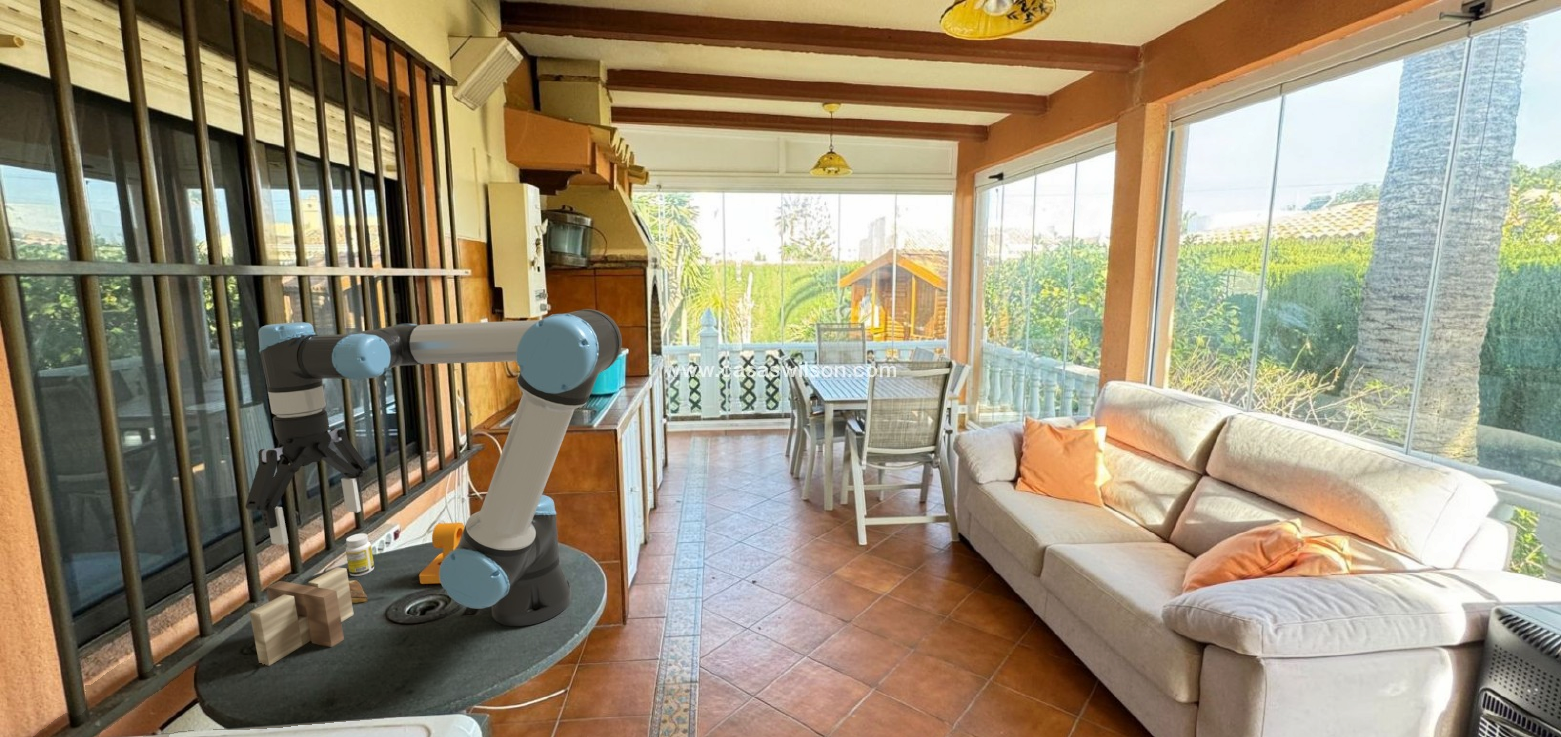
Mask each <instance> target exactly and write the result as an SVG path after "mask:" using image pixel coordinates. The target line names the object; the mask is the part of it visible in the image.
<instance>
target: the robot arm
mask: <svg viewBox="0 0 1561 737" xmlns="http://www.w3.org/2000/svg"><path fill="white" fill-rule="evenodd" d="M257 333H258V345H259V346H258V347H259V350H258V353H259V354H260V358H261V362H262V363H261V364H262V366H263V367H262V368H263V372H264V377H265V384H266V389H267V394H268V399H269V400H268V401H269V405H270V411H271V414H273V415H275V416H273V418H272V424H273V429H274V435H275V437H276V439H277V441H278V445H277V447H276V448H271V449H270V448H269V449H267V448H261V449H260V450H259V451H258V453H257V454H258V465H257V468H256V471H255V475H254V476H253V481H252V484H251V488H250V490H249V492H248V493H249V494H248V496H247V500H246V503H245V509H246V510H248V511H249V510H250V511H258V512H260V513H261V518H262V524H263V527H264V528H266V529H268V530H269V535H270V541H271V544H272V545H278V546H279V545H280V546H285V545H287V544H289V539H288V538H289V537H288V533H287V527H286V523H285V522H286V521H285V516H284V511H283V507H282V506H278V505H279V502H280V501H281V499H282V498H283V495H284V494H285V492H286V490H287V488H288V486H289V484H290V482H291V481H292V479H293V477H294V476H295V473H297V472H299V470H300V469H301V467H307V466H309V465H311V464H312V463H318V462H321V461H324V462H325V463H326V464H328V465H329V466H331V467H332V468H333V469H335V470H337V471H338V472H339V473H341V474H342V475H344V476H345V477H342V478H340V480H341V487H342V492H343V493H342V494H343V498H344V499H343V500H344V504H345V505H344V506H345V511H346V512H348V513H349V512H351V513H359V512H362V509H361V503H360V496H359V493H361V491H362V489H361V488H362V487H361V482H360V478H363V477H364V471H365V472H366V471H367V470H369V465H368V464H367V462H366V461H365V460H364V458H363V456H362V455H361V454H360V453H359V452H358V451H357V450H358V449H356V448H355V446H354V445H353V444H352V443H351V441H350V440H349V437H348V434H347V430H346V429H344V428H334V427H333V428H330V422H329V418H328V411H327V410H325V409H324V408H325V407H326V405H327V403H326V398H325V391H324V387H323V386H324V385H323V381H322V379H325V380H326V379H333V380H334V379H335V380H338V379H340V380H341V379H342V380H347V379H348V380H357V381H358V380H361V381H362V380H363V379H375V378H378V377H380V376H382V375H383V374H384V373H385V371H386V370H389V369H392V368H395V367H399V366H416V365H431V364H435V365H436V364H437V365H438V364H467V363H468V364H469V363H502V362H506V363H508V362H516V364H517V366H518V368H519V369H520V371H519V374H518V377H517V379H516V380H517V381H516V384H517V386H518V388H519V389H520V391H521V392H522V395H521V397H520V401H519V403H518V406H517V409H516V412H515V415H514V418H513V420H512V423H511V425H510V429H509V431H508V434H507V437H506V440H505V443H504V445H503V447H502V450H501V454H500V456H499V459H498V462H497V465H496V467H495V471H494V472H493V475H492V478H491V481H490V484H489V486H488V490H487V492H486V495H485V498H484V501H483V502H482V503H483V504H482V506H481V508H480V510H479V511H476V512H475V513H473V514H470V516H469V517H468V519H467V520H466V523H465V524H464V527H465V528H464V530H463V533H462V536H461V539H460V542H459V544H458V546H457V547H456V549H455V550H453V551H451V552H449V553H448V554H447V556H446V557H445V559H444V560H443V561H442V563H441V565H440V569H439V578H440V582H441V583H440V584H441V587H442V589H444V590H445V592H446V594H447V595H448V597H450V598H451V599H452V600H453V601H454V602H456V603H458V604H459V605H461V606H463V607H466V608H470V609H478V610H479V609H486V608H490V607H491V608H490V609H491V616H492V618H493V620H494V621H496V622H497V623H499V624H500V625H504V626H510V627H523V626H524V627H525V626H531V625H535V624H539V623H542V622H545V621H547V620H549V619H552V618H554V617H556V616H558V615H559V614H561V613H562V612H563V611H565V609H567V608H568V606H569V605H570V603H571V602H572V588H571V584H570V582H569V581H568V580H567V578H566V576H565V573H564V571H563V568H562V566H561V564H560V553H559V552H560V550H559V540H558V528H557V527H558V526H557V511H556V507H555V501H554V500H553V498H551V497H550V496H547V495H546V494H543V493H544V490H545V488H546V486H547V482H548V480H549V477H550V474H551V473H552V470H553V467H554V464H555V462H556V459H557V456H558V453H559V452H560V449H561V445H562V444H563V440H564V438H565V435H566V433H567V430H568V427H569V425H570V422H571V419H572V418H573V414H574V412H575V410H576V409H578V408H581V407H583V406H585V405H587V403H588V400H589V398H590V396H591V393H592V391H593V388H594V385H595V383H596V380H597V378H598V375H599V374H601V373H602V372H605V371H606V370H607V369H609V368H610V367H611V366H612V365H614V364H615V363H616V361H617V360H618V358H619V356H620V354H621V351H622V347H623V345H622V344H623V343H622V342H623V339H622V334H621V332H620V328H619V326H618V325H617V323H616V322H615V320H614V319H613V318H612V317H610V316H609V315H608V314H606V313H604V312H602V311H599V310H597V309H589V308H583V309H578V310H574V311H571V312H570V311H569V312H566V313H553V314H551V315H549V316H545V317H543V318H542V319H539V320H538V319H537V320H535V319H534V320H532V319H531V320H513V321H512V320H510V321H487V322H485V321H484V322H482V321H481V322H461V323H458V322H457V323H435V324H434V323H432V324H417V323H416V324H415V323H399V324H394V325H392V326H387V327H380V328H373V329H368V330H363V331H362V330H361V331H356V332H355V331H354V332H349V333H343V334H316V332H315V331H314V326H313V325H312V324H311V323H309V322H304V321H303V322H302V321H301V322H285V323H283V322H282V323H273V324H265V325H264V326H261V327H260V328H259V329H258V332H257ZM329 429H330V430H329ZM328 430H329V432H328ZM331 442H332V443H333V445H334V446H335V448H336V449H337V450H338V452H340V454H341V455H342V456H343V458H344V459H345V460H344V459H343V458H342V457H341V456H339V455H337V453H336V452H335V451H334V450H333V449H331V448H330V447H329V445H330V444H331ZM278 462H279V463H278ZM276 470H277V471H276Z"/></svg>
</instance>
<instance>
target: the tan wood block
mask: <svg viewBox="0 0 1561 737" xmlns="http://www.w3.org/2000/svg"><path fill="white" fill-rule="evenodd" d="M265 589H266V593H267V598H268V602H270V601H272V600H274V599H276V598H278V597H280V596H282V595H284V594H285V595H290V596H294V599H295V605H296V611H297V614H298V615H303V616H307V617H308V623H309V629H310V635H311V641H310V642H311V644H313V645H314V644H315V645H319V646H324V647H328V648H333V647H335V646H336V645H338V644H339V643H341V642H342V641H344V640H345V636H344V630H343V624H342V622H341V617H340V610H339V604H338V598H337V591H335V590H330V589H324V588H318V587H312V586H309V585H308V584H307V585H305V584H300V583H293V582H288V581H284V580H282V581H281V580H279V581H277V582H274V583H273V584H270V585H268V586H267V587H266V588H265Z"/></svg>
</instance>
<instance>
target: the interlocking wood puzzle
mask: <svg viewBox="0 0 1561 737" xmlns="http://www.w3.org/2000/svg"><path fill="white" fill-rule="evenodd" d="M347 569H348V568H346V567H338V566H336V567H335V568H333V569H331V570H329V571H327V572H325V573H323V574H321V575H319V576H317V577H316V578H312V579H311V580H309V581H308V582H307V586H312V587H318V588H324V589H330V590H335V591H337V598H338V604H339V610H340V617H341V623H342V622H344V621H345V620H347V619H349V618H351V617H352V616H354V615H355V614H354V608H353V603H352V601H351V594H350V587H349V581H350V580H349V576H348V575H349V574H348V570H347ZM249 617H250V622H251V626H252V632H253V637H254V643H255V648H256V649H255V650H256V653H257V659H258V664H259V663H262V664H261V665H264V664H265V666H269V667H270V666H272V665H273V664H275V663H276V662H277V661H279V660H281V659H283V658H284V657H286V656H288V655H289V654H291V653H293V652H294V651H296V650H298V649H300V648H301V647H303V646H305V645H306V644H308V643H309V642H312V641H311V635H310V629H309V623H308V617H307V616H303V615H298V614H297V611H296V605H295V599H294V596H290V595H285V594H284V595H282V596H280V597H278V598H276V599H274V600H272V601H270V602H269V601H268V602H267V603H264V604H263V605H262V604H261V606H258V607H256V608H254V609H253V610H250V611H249Z"/></svg>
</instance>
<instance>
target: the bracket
mask: <svg viewBox="0 0 1561 737" xmlns="http://www.w3.org/2000/svg"><path fill="white" fill-rule="evenodd" d="M464 528H465V524H464V523H463V522H446V523H445V522H444V523H443V522H441V523H436V525H435V526H434V528H433V530H432V534H431V535H432V536H431V542H432V545H433V548H434V549H442V552H441V553H439V554H438V555H437V556H436V557H435V558H434V559H433V560H432V561H431V562H430V563H429V564H428V565H426V566H425V568H424V569H423V570H422V571H421V572H420V573H419V575H418V577H419V583H420V584H422V585H425V584H426V585H428V584H441V582H440V578H439V569H440V565H441V563H442V561H443V560H444V559H445V557H446V556H447V554H448V553H449V552H451V551H453V550H455V549H456V547H457V546H458V544H459V542H460V539H461V536H462V533H463V530H464Z"/></svg>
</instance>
